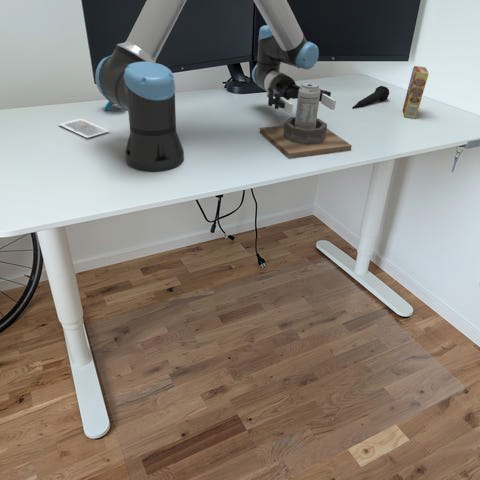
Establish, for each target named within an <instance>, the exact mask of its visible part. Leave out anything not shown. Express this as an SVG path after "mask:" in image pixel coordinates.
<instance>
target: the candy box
mask: <svg viewBox="0 0 480 480" xmlns="http://www.w3.org/2000/svg"><path fill="white" fill-rule="evenodd" d="M428 78H429V72H428V69H427V67H425V66H421V65H420V66H419V65H418V66H417V65H416V66H415V65H413V68H412V72H411V76H410V79H409V83H408V88H407V91H406V95H405V99H404V103H403V107H402V112H403V117H404V118H407V119H408V118H410V119H417V116H418V112H419V109H420V105H421V101H422V97H423V94H424V91H425V87H426V84H427V81H428Z"/></svg>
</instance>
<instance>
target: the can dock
mask: <svg viewBox="0 0 480 480" xmlns="http://www.w3.org/2000/svg"><path fill="white" fill-rule="evenodd" d="M295 119H296V116H290V117H288V118H287V119H286V120H285V121H284V124H282V125H273V126H263V127H262V126H261V127H259V134H261V135H262V137H264V138H265V140H267V141H268V142H269V143H270V144H272V145H273V146H274V147H275V148H276V149H277V150H278V151H280V152H281V153H282V154H283V156H285V157H286V158H288V159H296V158H302V157H311V156H318V155H324V154H335V153H340V152H349V151H351V150H352V144H351V143H349V142H348V141H346V140H345V139H343V138H342V137H340V136H339V135H337V134H336V133H334V132H333V131H332V130H330V129H328V128H327V127H328V124H327V122H325V121H323V120H321V119H320V118H318V117H317V120H316V127H315V128H314V129H304V128H298V127H295Z"/></svg>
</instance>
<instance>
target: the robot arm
mask: <svg viewBox="0 0 480 480" xmlns="http://www.w3.org/2000/svg"><path fill="white" fill-rule="evenodd" d="M186 2H187V0H146V1H145V3H144V6H143V7H142V8H141V11H140V13H139V16H138V17H137V19H136V21H135V23H134V25H133V27H132V29H131V31H130V33H129V35H128V37H127V39H126V40H125V42H121V43H117V45H116V46H115V47H114V50H113V52H112V54H111V55H109V56H107V57H106V56H105V57H104V58H103V59H101V60H100V62H99V63H98V65H97V67H96V69H95V77H94V79H95V84H96V87H97V89H98V92H99V93H100V94H101V96H103V97H104V98H105V99H106V100H107V101H108V102H109V101H110V102H111V103H113V104H112V105H116V106H117V107H119V108H121V109H122V110H124V109H125V110H124V111H127V113H128V122H129V123H128V125H129V135H128V139H127V143H126V146H125V147H126V149H125V153H124V154H125V161H126V162H125V163H126V164H127V165H128V166H130V167H131V168H134V169H136V170H141V171H146V172H160V171H161V172H162V171H168V170H171V169H173V168H176V167H178V166H180V165H181V164H182V163H183V162H184V160H185V153H184V151H185V150H184V147H183V145H182V143H181V140H180V137H179V135H178V131H177V117H176V116H177V115H176V94H175V93H176V84H175V76H174V74H173V72H172V71H171V69H170V68H168V67H167V66H165V65H164V64H160V63H159V62H157V61H156V60H157V59H158V56H159V55H160V53H161V51H162V49H163V46H164V45H165V43H166V42H167V39H168V37H169V35H170V33H171V31H172V30H173V28H174V25H175V23H176V22H177V20H178V18H179V15H180V13H181V12H182V10H183V7H185V4H186ZM253 2H254V4H255V6H256V7H257V9H258V11H259V13H260V15H261V16H262V18H263V20H264V21H265V24H266V25H265V24H264V25H262V26H261V27H260V28H259V34H258V39H257V42H258V43H257V45H258V47H257V63H256V65H255V66H254V67H253V69H252V71H251V72H252V73H251V77H252V81H253V82H254V83H255V84H256V85H257V87H258V88H259V89H263V90H264V91H265V92H266V93H267V94H266V95H267V98H268V102H267V105H268V107H272V106H273V105H274V110H279V108H280V109H282V110H283V111H284V112H286V113H287V114H289V115H292V114H293V109H294V108H293V107H294V103H292V102H290V101H289V100H290V99H293V100H296V99H297V100H298V92H299V89H300V87H301V86H299V85H297V83H296V81H295V80H294V78H292V77H291V76H290V75H288V74H286V73H284V72H283V71H281V63H282V64H286V65H289V66H291V67H296V68H297V69H303V70H310V69H312V68H313V67H315V65H316V64H317V62H318V59H319V57H320V56H319V55H320V53H319V51H320V49H319V47H318V46H317V45H316V43H313V42H311V41H308V40H307V39H306V37H305V34H304V32H303V31H302V28H301V27H300V24H299V23H298V21H297V19H296V16H295V14H294V13H293V12H294V11H293V10H292V9H291V6H290V5H289V2H288V0H253ZM156 62H157V63H156ZM319 89H320V88H319ZM331 94H332V91H328V90H324V89H320V98H319V103H320V104H322V105H323V106H325V107H327V108H328V109H330V110H331V111H335V108H336V104H337V103H336V102H337V101H336V99H334V98H333V97H332V95H331Z"/></svg>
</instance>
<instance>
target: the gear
mask: <svg viewBox="0 0 480 480" xmlns="http://www.w3.org/2000/svg"><path fill="white" fill-rule="evenodd" d="M112 105H114V104H113V103H111V102H110V101H108V102H107V103H106V104H105V107H104V108H103V110H104V111H105V112H107V111H108V110H109V109H110V108H111V107H112ZM123 110H124V111H126V110H125V109H123Z"/></svg>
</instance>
